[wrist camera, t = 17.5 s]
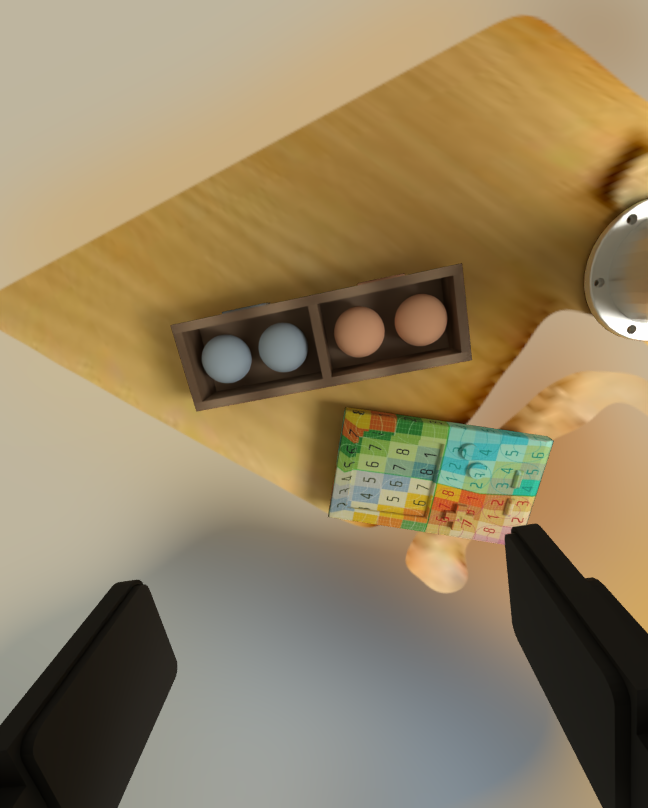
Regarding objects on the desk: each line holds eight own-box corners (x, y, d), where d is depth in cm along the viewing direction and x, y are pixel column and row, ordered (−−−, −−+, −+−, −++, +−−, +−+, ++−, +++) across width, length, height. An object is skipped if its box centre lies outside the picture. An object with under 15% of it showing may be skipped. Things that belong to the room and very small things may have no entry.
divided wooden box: (446, 265, 36) (461, 260, 31) (456, 352, 38) (472, 360, 33) (190, 320, 38) (169, 323, 34) (213, 398, 40) (196, 411, 36)
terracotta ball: (378, 301, 36) (381, 301, 32) (386, 348, 37) (390, 355, 33) (331, 310, 37) (327, 313, 32) (340, 357, 38) (338, 365, 33)
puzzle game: (524, 551, 38) (327, 522, 39) (505, 524, 43) (329, 498, 43) (559, 444, 35) (345, 413, 35) (534, 427, 40) (345, 400, 40)
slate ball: (305, 316, 37) (298, 319, 32) (314, 362, 38) (309, 371, 34) (259, 326, 37) (247, 330, 33) (270, 371, 39) (260, 380, 34)
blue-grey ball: (250, 328, 37) (237, 332, 33) (261, 373, 39) (250, 383, 34) (205, 337, 38) (187, 342, 34) (218, 381, 39) (202, 392, 35)
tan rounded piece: (437, 289, 36) (450, 288, 31) (443, 338, 37) (456, 343, 32) (388, 299, 36) (394, 299, 32) (395, 347, 37) (402, 353, 33)
